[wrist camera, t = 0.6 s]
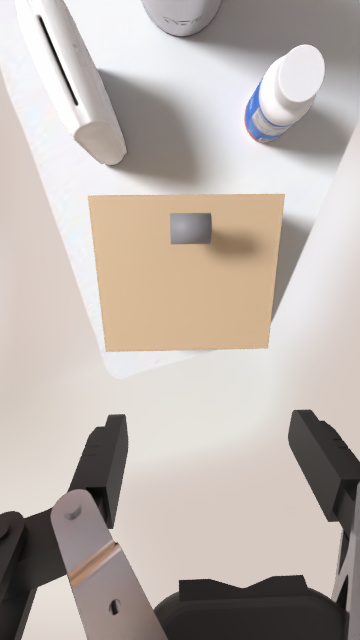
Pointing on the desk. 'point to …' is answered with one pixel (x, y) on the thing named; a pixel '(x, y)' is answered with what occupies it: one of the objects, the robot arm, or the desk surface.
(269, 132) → the pill bottle
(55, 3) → the photo printer
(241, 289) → the carton lid
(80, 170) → the desk surface
